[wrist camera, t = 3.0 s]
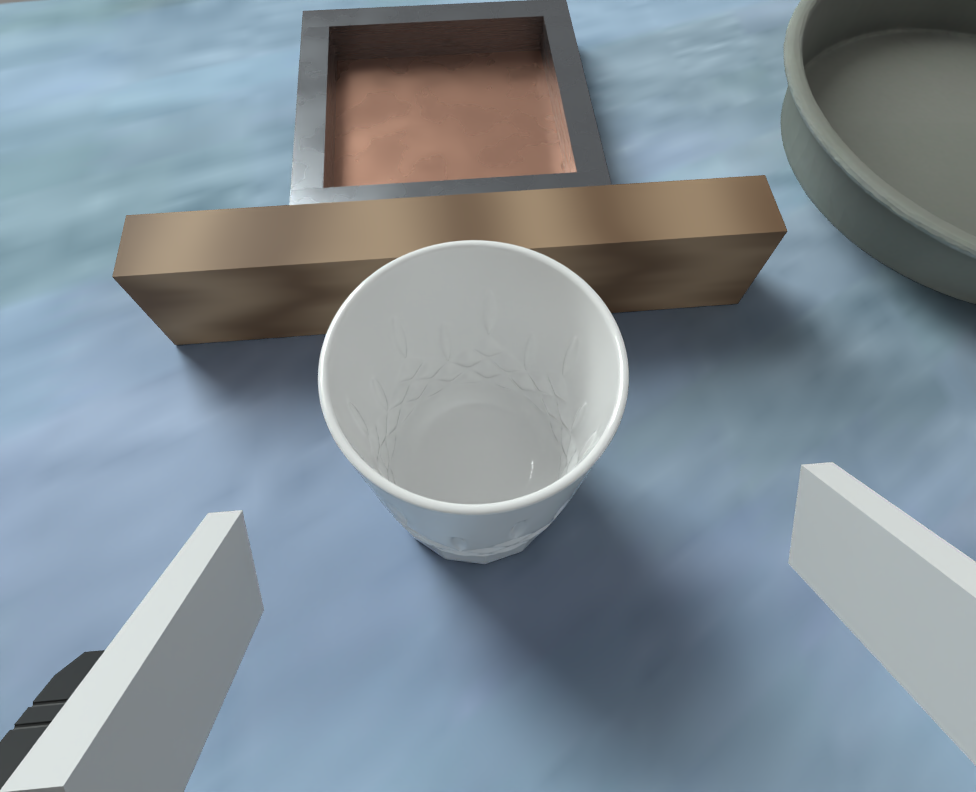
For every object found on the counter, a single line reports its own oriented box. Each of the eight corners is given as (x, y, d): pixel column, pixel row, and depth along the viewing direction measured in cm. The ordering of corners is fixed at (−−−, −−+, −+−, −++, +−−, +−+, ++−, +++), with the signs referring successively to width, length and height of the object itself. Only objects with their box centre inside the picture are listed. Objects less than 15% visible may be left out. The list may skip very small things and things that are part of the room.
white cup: (377, 401, 25) (320, 249, 16) (557, 385, 26) (598, 229, 17) (381, 590, 22) (313, 530, 13) (589, 569, 22) (661, 497, 13)
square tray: (303, 248, 29) (288, 214, 27) (313, 51, 35) (302, 11, 33) (604, 228, 30) (613, 193, 27) (560, 39, 36) (565, -2, 34)
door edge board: (175, 344, 26) (112, 276, 22) (183, 290, 28) (126, 215, 23) (737, 303, 28) (787, 231, 23) (721, 253, 29) (765, 175, 25)
